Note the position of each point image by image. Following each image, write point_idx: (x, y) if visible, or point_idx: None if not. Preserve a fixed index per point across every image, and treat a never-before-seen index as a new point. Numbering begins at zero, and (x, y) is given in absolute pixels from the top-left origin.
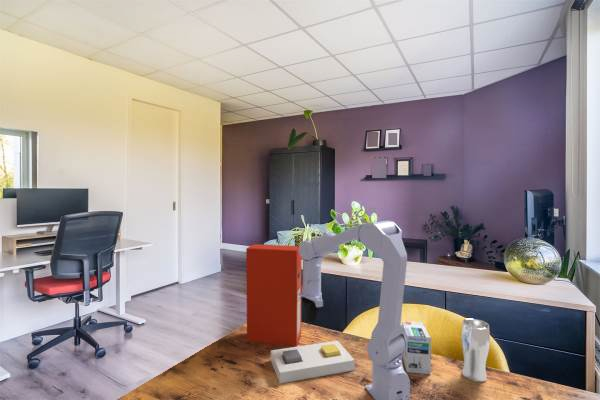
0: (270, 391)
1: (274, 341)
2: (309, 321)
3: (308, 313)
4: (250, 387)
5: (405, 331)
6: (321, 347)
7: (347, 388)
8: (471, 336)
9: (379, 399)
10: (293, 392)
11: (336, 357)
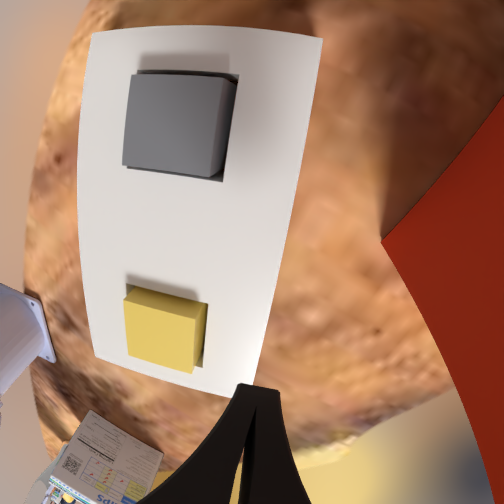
0: (99, 5)
1: (466, 152)
2: (234, 392)
3: (194, 452)
4: None
5: (76, 490)
6: (188, 314)
7: (42, 258)
8: (32, 493)
9: (2, 292)
10: (62, 82)
11: (120, 321)
